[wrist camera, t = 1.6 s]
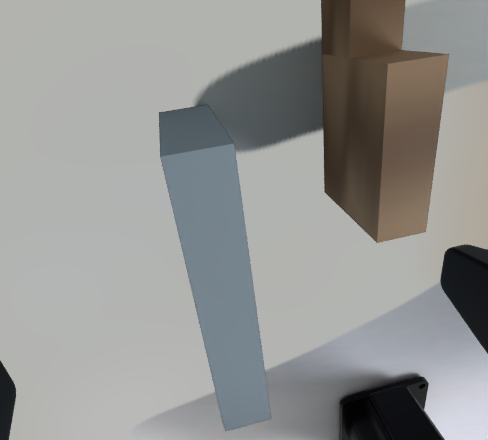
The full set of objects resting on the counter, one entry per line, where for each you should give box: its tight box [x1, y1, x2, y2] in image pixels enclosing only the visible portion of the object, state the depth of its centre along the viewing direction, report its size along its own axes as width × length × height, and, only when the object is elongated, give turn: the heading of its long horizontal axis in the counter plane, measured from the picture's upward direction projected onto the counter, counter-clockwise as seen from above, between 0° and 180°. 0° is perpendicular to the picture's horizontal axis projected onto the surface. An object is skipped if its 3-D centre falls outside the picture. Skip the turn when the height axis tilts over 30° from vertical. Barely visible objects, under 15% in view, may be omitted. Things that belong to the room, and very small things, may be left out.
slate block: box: [159, 105, 271, 431], centre depth 15 cm, size 12×2×6 cm, turn 6°
